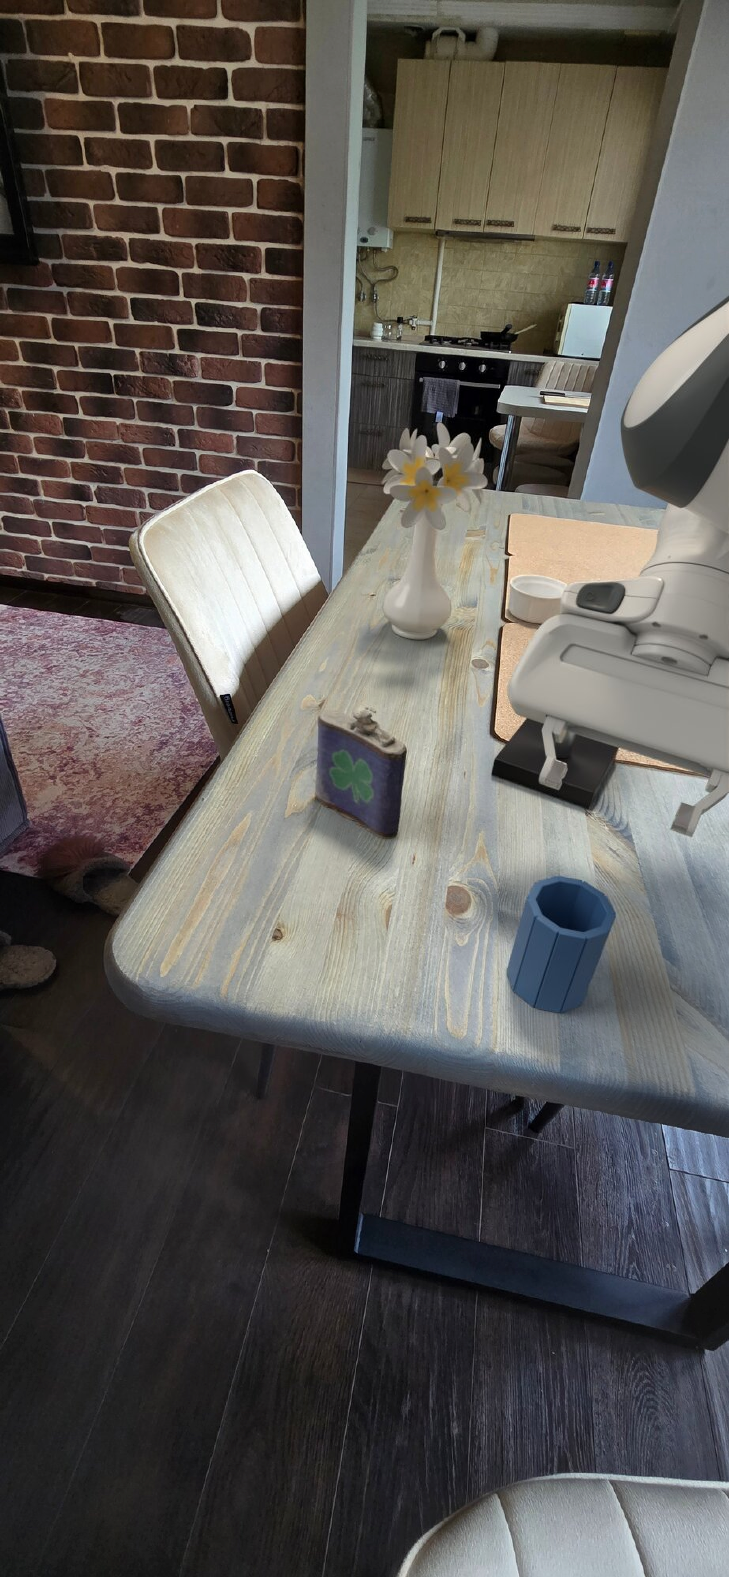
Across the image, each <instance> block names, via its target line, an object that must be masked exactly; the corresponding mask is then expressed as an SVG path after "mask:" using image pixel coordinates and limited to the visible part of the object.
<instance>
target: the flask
mask: <svg viewBox="0 0 729 1577" xmlns="http://www.w3.org/2000/svg"><path fill="white" fill-rule="evenodd" d="M368 710H369V711H368ZM372 713H374V714H376V713H377V710H376V708H375V707H367V706H365V707H364V709H362V710H361V711H359V712H355V711H354V712H353V713H352V715H350V714H349V715H348V714H347V713H344V712H341V711H338V710H325V711H322V712H321V713H320V714H318V715H319V716H318V717H317V749H316V750H317V756H316V775H315V786H314V788H315V789H314V797H315V799H316V800H317V801H318V802H319V803H320V804H321V805H322V806H324V807H325V808H330V809H332V810H333V811H335V812H336V813H337V814H338V815H340V816H341V817H342V818H345V819H346V820H351V821H355V822H356V824H357V826H362V827H364V828H365V829H366V831H367V832H370V833H372V834H374V835H375V836H376V837H377V838H382V839H390V840H392V839H393V838H394V837H396V836H397V835H398V833H399V827H400V820H401V810H402V796H403V787H404V781H405V769H406V761H407V755H408V754H407V753H408V749H407V747H406V745H405V744H404V743H403V742H402V741H400V740H399V739H398V738H396V737H394V736H393V735H391V734H390V733H388V732H387V731H385V730H383V729H382V728H381V725H380V724H379V723H378V721H377V720H376V721H375V720H373V719H372V717H373V714H372Z"/></svg>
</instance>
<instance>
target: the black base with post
mask: <svg viewBox="0 0 729 1577" xmlns="http://www.w3.org/2000/svg"><path fill="white" fill-rule="evenodd" d="M543 726H544V723H540V722H537V721H534V720H531V719H528V718H525V720H524V721H523V722H522V723H521V725H519V727H518V728H517V730H516V731H515V732H514V733H513V735H512V736H511V737H510V738H509V740H508V741H507V742H506V744H504V746H503V747H502V748H501V750H500V751H499V752H498V754H496V756H495V758H494V759H493V764H492V769H491V776H494V777H497V778H499V779H502V780H505V781H507V782H511V783H513V784H516V785H519V786H522V787H525V788H527V789H530V790H533V791H536V792H539V793H541V794H544V795H546V796H550V797H553V798H555V799H558V800H562V801H564V802H567V803H569V804H572V805H575V806H578V807H580V808H583V809H587V810H589V809H590V808H591V807H592V804H593V803H594V801H595V799H596V797H597V796H598V793H599V791H600V790H601V788H602V787H603V786H602V785H604V782H605V780H606V778H607V776H608V774H609V773H610V771H611V769H612V767H613V766H614V763H615V761H616V758H617V756H618V752H619V749H620V748H618V747H615V746H612V745H609V744H605V743H602V742H599V741H596V740H593V739H590V738H587V737H584V736H581V735H578V734H574V733H571V732H568V731H567V732H566V734H565V736H564V739H563V741H562V743H558V742H555V740H554V747H555V753H556V759H557V760H559V761H561V762H564V763H567V769H568V770H567V772H566V775H565V777H564V778H563V779H561V780H562V785H561V787H560V789H559V790H557V789H554V788H551V787H548V786H545V785H543V784H540V783H539V776H540V773H541V771H542V769H543V766H544V764H545V761H546V759H547V758H546V754H545V748H544V741H543V735H542V728H543Z"/></svg>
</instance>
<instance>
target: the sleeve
mask: <svg viewBox="0 0 729 1577" xmlns="http://www.w3.org/2000/svg"><path fill="white" fill-rule="evenodd" d="M616 917H617V912H616V911H615V908H614V906H613V905H612V903H611V901H610V899H609V898H608V896H607V895H606V894H605V893H604V892H602V891H601V890H600V889H598V888H597V887H595V886H593V885H591V884H590V883H588V882H587V881H586V880H583V879H579V878H573V877H569V876H562V875H554V876H550V877H547V878H544V879H540V880H537V881H536V882H534V884H533V885H532V887H531V889H530V890H529V893H528V894H527V896H526V899H525V903H524V906H523V910H522V913H521V917H520V921H519V924H518V928H517V932H516V935H515V938H514V943H513V945H512V950H511V953H510V957H509V960H508V964H507V968H506V974H507V977H508V980H509V983H510V986H511V990H512V991H513V993H514V994H516V996H518V997H519V998H520V999H522V1000H523V1001H524V1002H526V1003H527V1004H528V1005H529V1006H531V1007H532V1008H535V1009H538V1010H542V1011H546V1012H551V1013H555V1014H559V1013H561V1014H563V1013H565V1012H568V1011H570V1010H574V1009H575V1008H578V1007H581V1005H583V1003H584V1000H585V998H586V996H587V992H588V990H589V987H590V985H591V983H592V980H593V977H594V974H595V972H596V970H597V967H598V965H599V962H600V960H601V957H602V955H603V951H604V949H605V947H606V944H607V942H608V941H607V940H608V938H609V936H610V933H611V931H612V928H613V925H614V922H615V920H616Z"/></svg>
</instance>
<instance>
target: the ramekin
mask: <svg viewBox="0 0 729 1577" xmlns="http://www.w3.org/2000/svg"><path fill="white" fill-rule="evenodd" d="M567 585H568V584H567V583H566V582H564V581H562V580H560V579H557V578H554V577H550V576H546V575H541V574H521V575H516V576H513V577H512V578H511V579H510V580H509V596H508V604H507V605H508V607H507V608H508V611H509V613H510V614H511V615H512V616H513V617H515V618H517V619H518V620H521V621H524V622H526V623H531V624H537V625H538V624H540V625H542V624H543V623H544V622H545V621H547V620H548V619H549V618H551V617H553V616H556V615H559V610H560V602H561V597H562V594H563V592H564V590H565V588H566V587H567Z"/></svg>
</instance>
